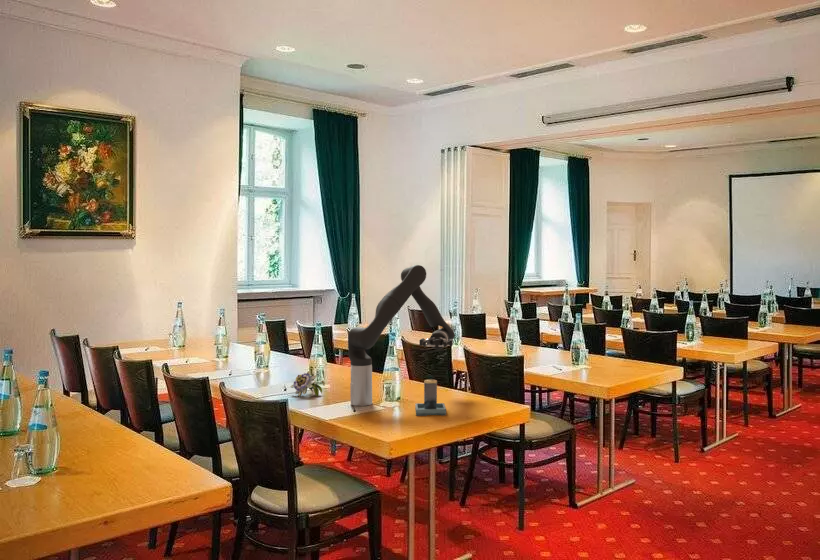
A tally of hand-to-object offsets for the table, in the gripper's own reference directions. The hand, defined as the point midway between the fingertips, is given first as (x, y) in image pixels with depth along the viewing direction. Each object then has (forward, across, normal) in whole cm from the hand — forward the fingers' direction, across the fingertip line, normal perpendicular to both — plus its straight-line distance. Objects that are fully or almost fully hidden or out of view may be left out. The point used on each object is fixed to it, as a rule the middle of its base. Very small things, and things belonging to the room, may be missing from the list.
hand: (434, 344), depth 306 cm
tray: (+12, 0, +26) cm, 29 cm away
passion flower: (-18, -62, +27) cm, 69 cm away
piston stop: (+12, 0, +26) cm, 28 cm away
